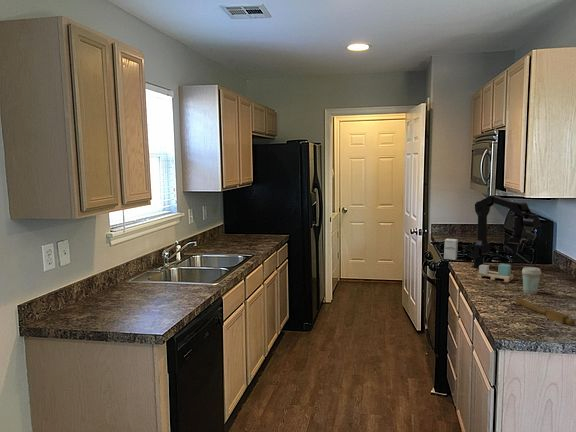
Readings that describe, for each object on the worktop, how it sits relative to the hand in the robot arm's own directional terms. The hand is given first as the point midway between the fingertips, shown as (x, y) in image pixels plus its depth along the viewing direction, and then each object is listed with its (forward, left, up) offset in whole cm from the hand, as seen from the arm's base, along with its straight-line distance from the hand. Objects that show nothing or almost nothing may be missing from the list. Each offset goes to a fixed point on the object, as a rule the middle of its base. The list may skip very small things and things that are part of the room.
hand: (517, 253), depth 260 cm
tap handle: (+58, +27, -14) cm, 66 cm away
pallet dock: (+10, -8, -13) cm, 19 cm away
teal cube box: (+8, -4, -10) cm, 14 cm away
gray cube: (+12, -14, -10) cm, 21 cm away
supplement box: (-22, -46, -13) cm, 53 cm away
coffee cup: (+28, +14, -13) cm, 34 cm away
